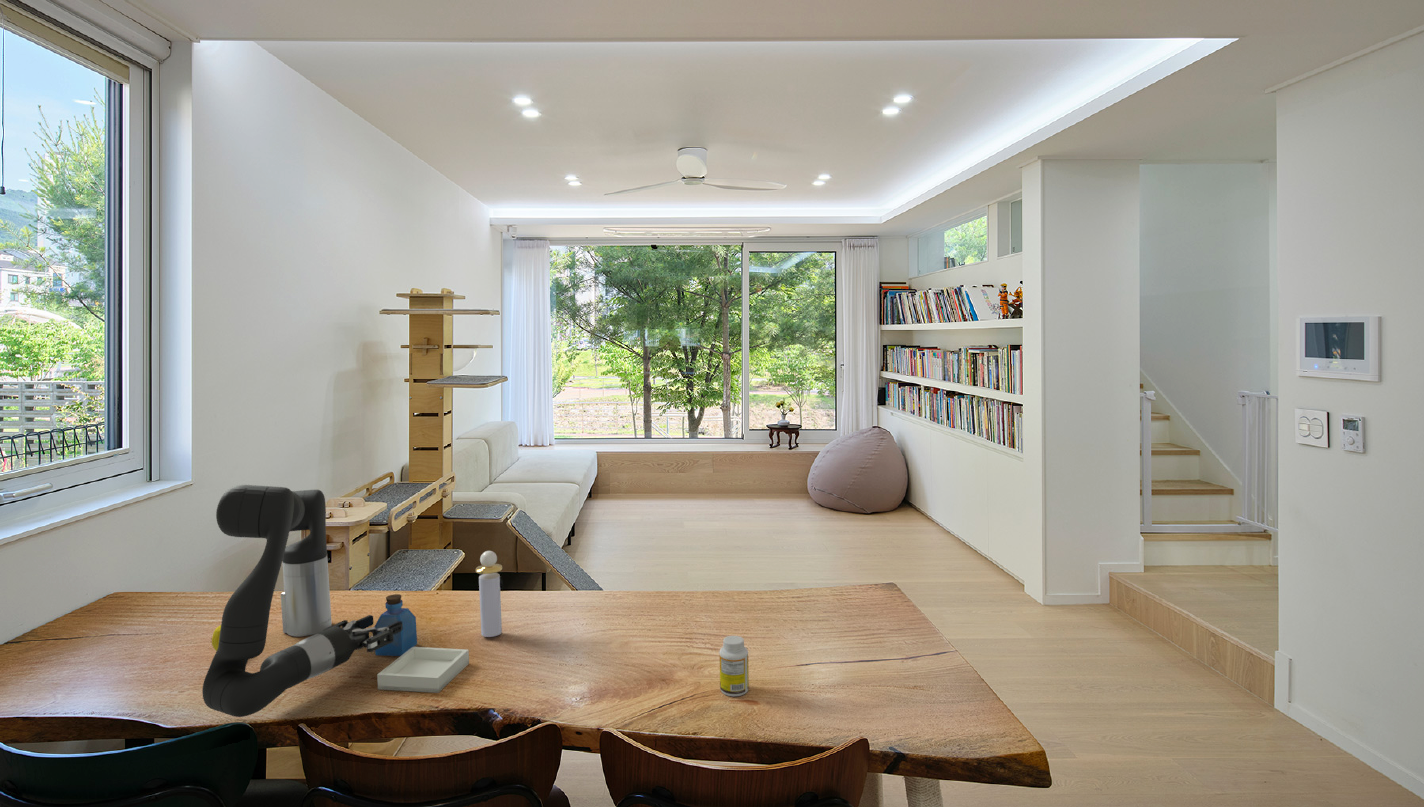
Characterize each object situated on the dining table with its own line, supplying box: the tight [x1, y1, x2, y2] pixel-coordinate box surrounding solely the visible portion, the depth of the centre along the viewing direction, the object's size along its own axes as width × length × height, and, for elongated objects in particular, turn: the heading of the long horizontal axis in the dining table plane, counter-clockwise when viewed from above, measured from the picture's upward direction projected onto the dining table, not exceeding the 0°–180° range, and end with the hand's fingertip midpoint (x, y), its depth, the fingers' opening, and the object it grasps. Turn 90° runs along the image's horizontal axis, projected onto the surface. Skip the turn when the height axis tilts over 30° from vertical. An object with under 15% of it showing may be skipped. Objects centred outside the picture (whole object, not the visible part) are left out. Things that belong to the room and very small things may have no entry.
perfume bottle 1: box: [373, 593, 418, 657], centre depth 157 cm, size 6×6×12 cm
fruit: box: [211, 624, 221, 651], centre depth 155 cm, size 6×6×8 cm
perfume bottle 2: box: [475, 550, 504, 638], centre depth 163 cm, size 6×6×20 cm
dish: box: [376, 646, 470, 694], centre depth 145 cm, size 13×13×3 cm
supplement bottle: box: [718, 635, 750, 698], centre depth 137 cm, size 6×6×10 cm
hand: (386, 622), depth 155 cm, fingers open, 8 cm apart
